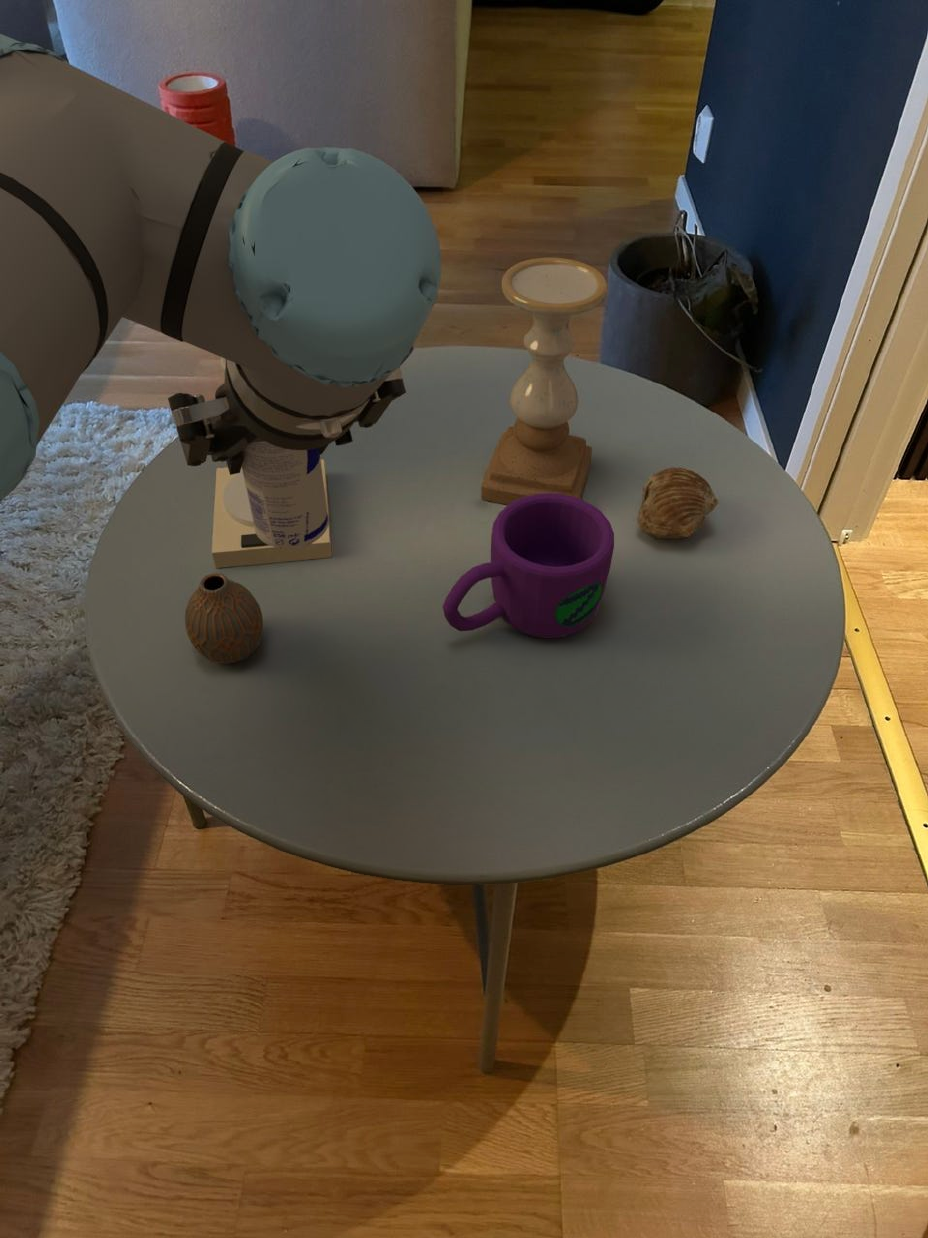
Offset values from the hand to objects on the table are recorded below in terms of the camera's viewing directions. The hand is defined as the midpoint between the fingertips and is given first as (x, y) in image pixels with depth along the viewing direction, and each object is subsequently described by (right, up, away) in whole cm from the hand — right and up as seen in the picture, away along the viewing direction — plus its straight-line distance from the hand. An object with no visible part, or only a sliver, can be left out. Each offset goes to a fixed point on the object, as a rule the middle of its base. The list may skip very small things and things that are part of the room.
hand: (271, 446), depth 68 cm
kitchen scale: (-6, -2, +31) cm, 32 cm away
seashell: (+37, -3, +31) cm, 49 cm away
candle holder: (+23, +3, +36) cm, 43 cm away
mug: (+20, -13, +22) cm, 32 cm away
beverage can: (+1, -6, +2) cm, 7 cm away
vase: (-8, -16, +19) cm, 26 cm away
